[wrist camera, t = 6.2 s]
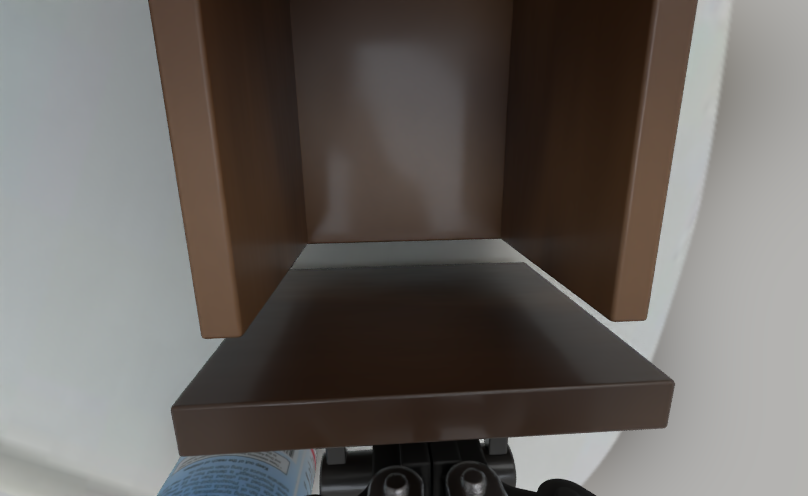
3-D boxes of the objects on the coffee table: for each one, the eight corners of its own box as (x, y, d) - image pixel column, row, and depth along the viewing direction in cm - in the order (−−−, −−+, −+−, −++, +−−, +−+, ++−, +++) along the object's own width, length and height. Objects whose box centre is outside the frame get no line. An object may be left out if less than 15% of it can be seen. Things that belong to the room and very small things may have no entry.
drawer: (516, 382, 18) (637, 589, 10) (290, 393, 18) (210, 625, 9) (551, -111, 13) (856, -561, 5) (240, -120, 13) (-37, -657, 4)
